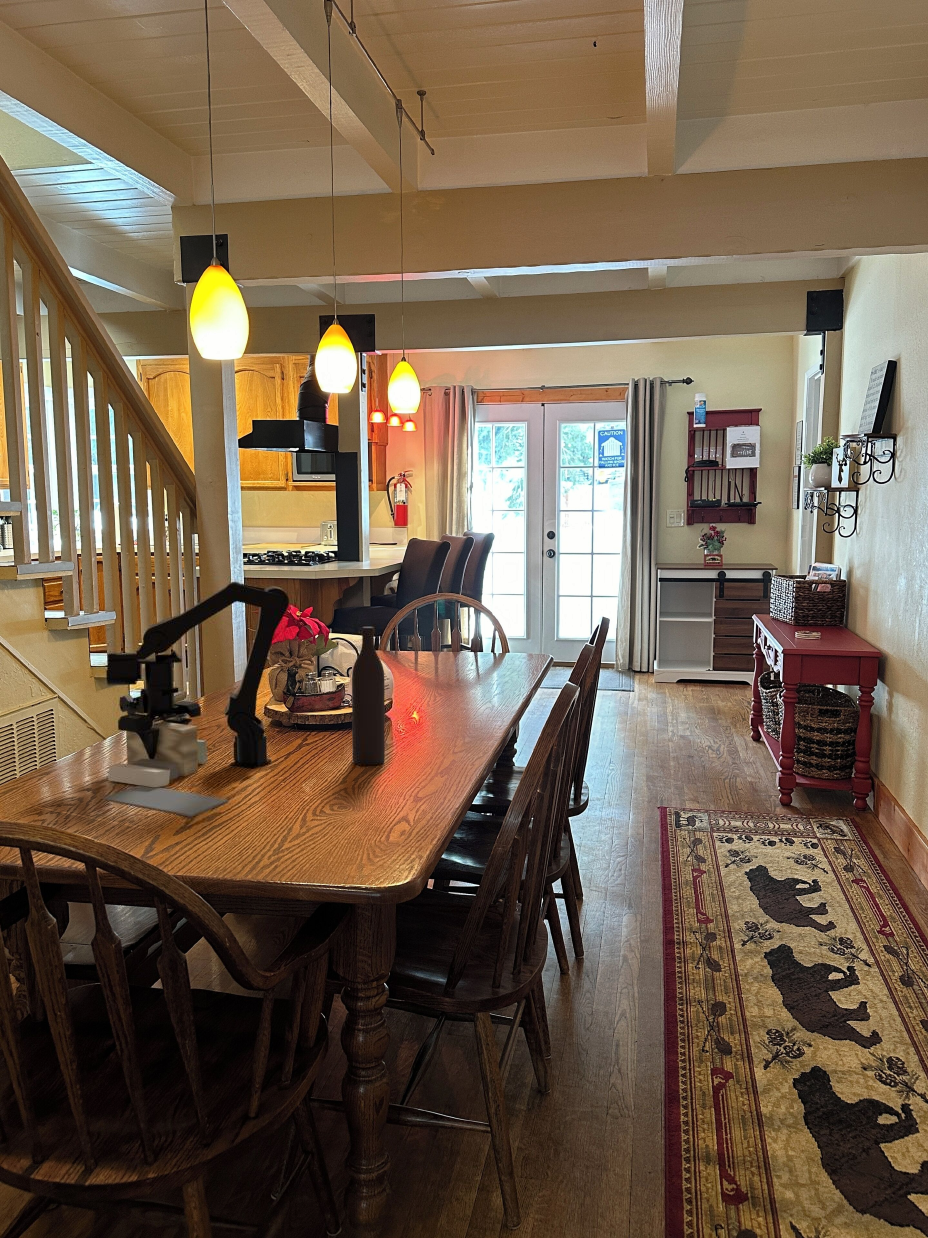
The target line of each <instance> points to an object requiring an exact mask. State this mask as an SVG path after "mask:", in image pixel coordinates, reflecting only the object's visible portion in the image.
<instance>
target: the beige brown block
mask: <svg viewBox="0 0 928 1238" xmlns="http://www.w3.org/2000/svg"><path fill="white" fill-rule="evenodd" d="M155 728H158V729H160V730H159V737H158V743H157V749H156V754H155V758H154V759H150V760H158V761H167V762H175V763H178V776H180V777H181V776H182V777H187V776H189V775H192V774H195V773H198V772H199V763H198V753H197V740H198V729H197V728H198V726H197V725H192V724H191V725H190V724H188V725H183V724H176V723H169V722H164V721H162V720H161V721H157V722H155ZM125 736H126V764H129V765H133V762H134V761H137V760H140V759H149V757H148V754H147V752H146V750H145V747H144V745H143V743H142V741H141V739H140V737H139V735H138V734H136V733H135V732H129V731H125Z"/></svg>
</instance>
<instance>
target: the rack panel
mask: <svg viewBox="0 0 928 1238" xmlns="http://www.w3.org/2000/svg"><path fill="white" fill-rule="evenodd" d="M207 748H208V747H207V740H202V739H197V753H198V764H201V765H205V764H207V763H208V749H207Z"/></svg>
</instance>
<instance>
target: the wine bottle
mask: <svg viewBox="0 0 928 1238" xmlns="http://www.w3.org/2000/svg"><path fill="white" fill-rule="evenodd" d="M360 633H361V637H362V638H361V639H362V640H361V643H362V644H361V650H360V651H359V653H358V656H357V658H356V660H355V662H354V664H353V667H352V673H351V707H352V709H351V713H352V714H351V716H352V717H351V720H352V723H351V724H352V725H351V729H352V731H351V733H352V737H351V741H352V743H351V744H352V746H351V747H352V762H353V764H355V765H358V766H363V767H371V766H372V767H373V766H374V767H375V766H378V765H381V764H383V763H385V759H386V755H385V754H386V752H385V751H386V749H385V747H386V743H385V742H386V741H385V740H386V739H385V738H386V737H385V735H386V731H385V730H386V729H385V723H386V722H385V715H386V714H385V713H386V712H385V710H386V709H385V706H386V705H385V702H386V701H385V698H386V697H385V693H386V692H385V691H386V689H385V670H384V667H383V663H382V661H381V659H380V657H379V655H378V654H377V651H376V649H375V639H374V638H375V634H376V633H375V628H374V627H373V626H362V627H361V630H360Z"/></svg>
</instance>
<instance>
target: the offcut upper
mask: <svg viewBox="0 0 928 1238" xmlns="http://www.w3.org/2000/svg"><path fill="white" fill-rule="evenodd" d="M133 765H136V766H143V767H150V768H157V769H165V770H170V776H169V782H170V781H172V780H175V779H177V778H179V775H178V763H175V762H167V761H158V760H150V759H140V760H137V761H134V762H133Z"/></svg>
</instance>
